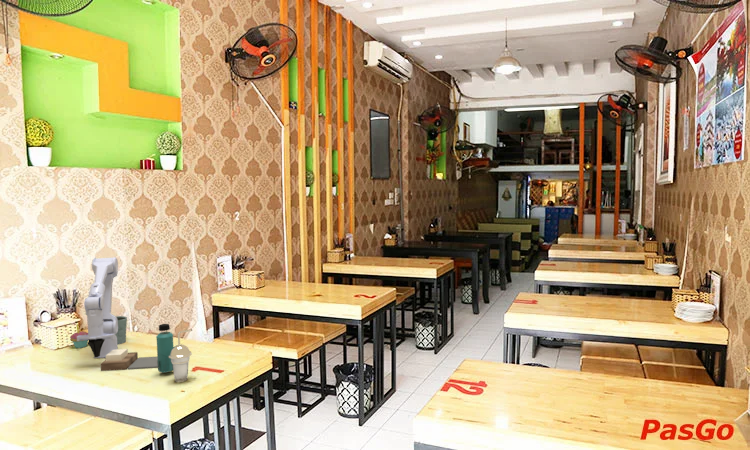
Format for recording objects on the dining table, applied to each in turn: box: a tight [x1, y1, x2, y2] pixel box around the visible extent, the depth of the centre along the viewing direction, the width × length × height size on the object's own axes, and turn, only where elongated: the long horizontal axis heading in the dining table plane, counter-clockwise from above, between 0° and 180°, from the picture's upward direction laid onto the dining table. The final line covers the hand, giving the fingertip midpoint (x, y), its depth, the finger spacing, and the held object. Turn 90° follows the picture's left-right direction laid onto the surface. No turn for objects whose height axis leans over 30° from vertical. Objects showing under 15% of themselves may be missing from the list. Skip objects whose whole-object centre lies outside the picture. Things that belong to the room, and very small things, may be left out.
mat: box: [127, 356, 158, 370], centre depth 224 cm, size 14×12×1 cm
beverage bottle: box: [155, 323, 174, 373], centre depth 210 cm, size 6×7×20 cm
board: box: [100, 351, 139, 372], centre depth 222 cm, size 14×10×3 cm
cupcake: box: [69, 323, 89, 349], centre depth 251 cm, size 9×8×12 cm
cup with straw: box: [168, 329, 193, 383], centre depth 202 cm, size 8×9×20 cm
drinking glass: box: [115, 315, 128, 346], centre depth 256 cm, size 10×10×12 cm
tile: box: [105, 348, 129, 361], centre depth 222 cm, size 8×6×2 cm
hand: (97, 356), depth 221 cm, fingers closed
